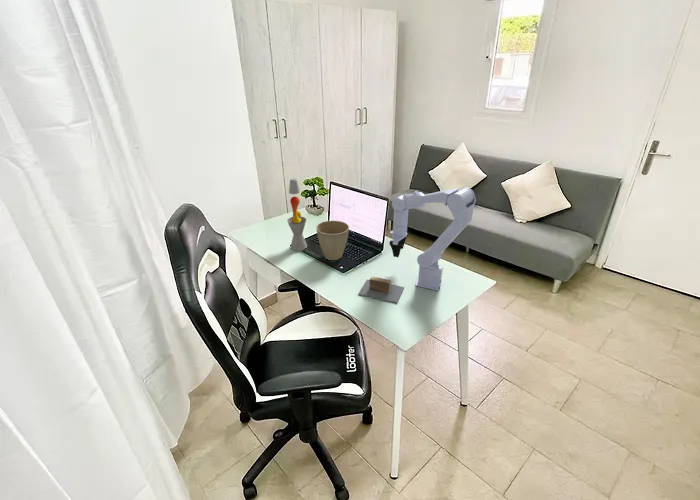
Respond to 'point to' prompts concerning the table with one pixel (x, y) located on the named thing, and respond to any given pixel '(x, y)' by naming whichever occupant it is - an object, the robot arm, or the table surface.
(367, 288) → the rubber mat
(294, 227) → the lava lamp
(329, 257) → the plant pot
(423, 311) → the table surface
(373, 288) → the wooden tile
